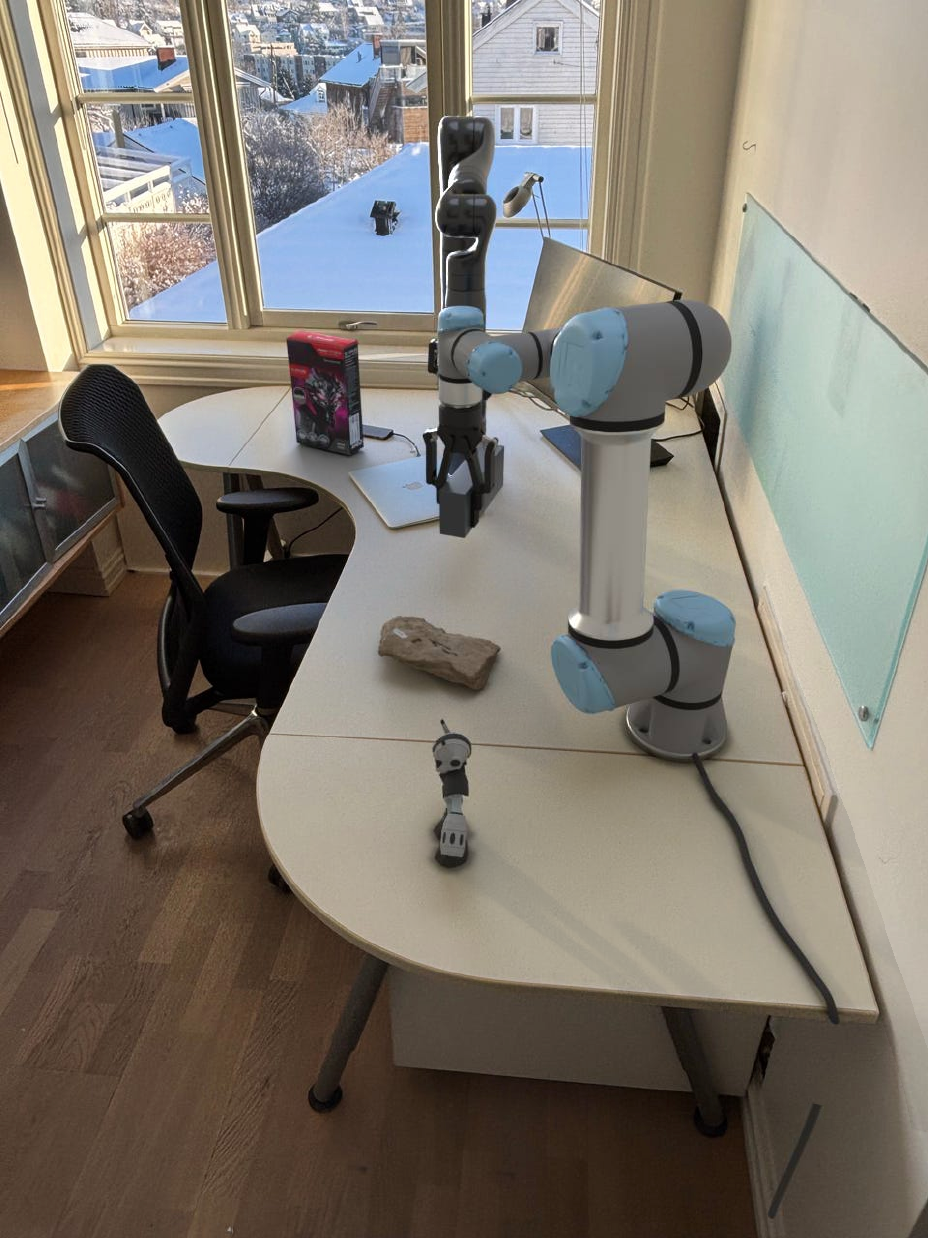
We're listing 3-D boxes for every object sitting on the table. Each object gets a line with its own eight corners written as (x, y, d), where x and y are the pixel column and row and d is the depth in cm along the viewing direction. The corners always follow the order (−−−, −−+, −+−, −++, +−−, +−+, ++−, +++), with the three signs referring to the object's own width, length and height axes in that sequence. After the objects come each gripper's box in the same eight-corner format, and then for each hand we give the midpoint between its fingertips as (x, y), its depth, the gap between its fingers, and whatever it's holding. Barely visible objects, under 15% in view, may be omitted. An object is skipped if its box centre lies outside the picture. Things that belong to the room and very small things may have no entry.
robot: (474, 902, 115) (476, 785, 104) (435, 903, 115) (433, 787, 104) (466, 791, 132) (467, 679, 120) (432, 792, 131) (430, 680, 120)
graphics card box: (294, 443, 234) (283, 336, 218) (310, 434, 239) (300, 328, 224) (350, 457, 227) (343, 347, 212) (366, 447, 232) (360, 339, 217)
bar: (464, 538, 167) (465, 494, 162) (439, 533, 169) (438, 490, 164) (503, 486, 185) (504, 445, 181) (479, 482, 187) (480, 442, 182)
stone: (354, 663, 151) (360, 631, 149) (385, 632, 165) (392, 602, 162) (474, 706, 148) (483, 673, 145) (496, 671, 161) (504, 640, 159)
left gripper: (508, 309, 171) (505, 394, 180) (434, 303, 174) (435, 386, 183) (498, 320, 165) (496, 407, 174) (422, 314, 168) (424, 399, 177)
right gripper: (517, 400, 159) (512, 520, 171) (419, 387, 163) (422, 506, 176) (504, 414, 153) (500, 539, 165) (403, 401, 158) (407, 523, 170)
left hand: (464, 396), depth 178 cm, fingers open, 8 cm apart
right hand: (460, 521), depth 171 cm, fingers closed on bar, 5 cm apart
